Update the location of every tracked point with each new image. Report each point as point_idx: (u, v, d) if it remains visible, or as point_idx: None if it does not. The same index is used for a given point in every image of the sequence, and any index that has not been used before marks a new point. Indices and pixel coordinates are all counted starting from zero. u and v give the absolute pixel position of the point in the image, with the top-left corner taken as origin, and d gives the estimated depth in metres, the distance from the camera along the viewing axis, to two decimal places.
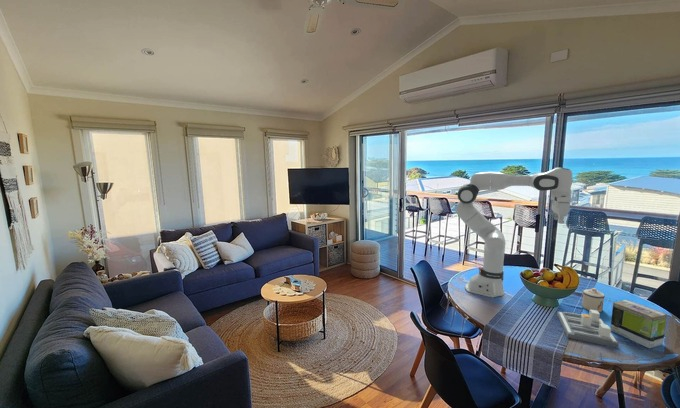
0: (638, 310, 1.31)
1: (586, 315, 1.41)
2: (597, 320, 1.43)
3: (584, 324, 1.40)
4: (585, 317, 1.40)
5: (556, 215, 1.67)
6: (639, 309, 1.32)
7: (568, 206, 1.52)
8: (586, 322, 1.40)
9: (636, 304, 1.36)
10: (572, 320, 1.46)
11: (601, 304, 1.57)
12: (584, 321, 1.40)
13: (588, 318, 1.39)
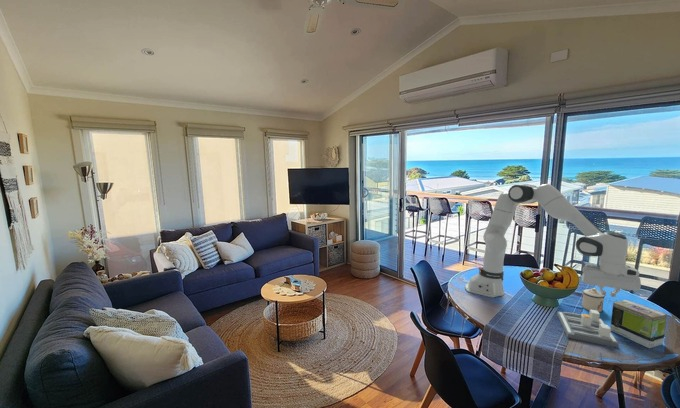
0: (638, 310, 1.31)
1: (586, 315, 1.41)
2: (597, 320, 1.43)
3: (584, 324, 1.40)
4: (585, 317, 1.40)
5: (602, 289, 1.37)
6: (639, 309, 1.32)
7: None
8: (586, 322, 1.40)
9: (636, 304, 1.36)
10: (572, 320, 1.46)
11: (601, 304, 1.57)
12: (584, 321, 1.40)
13: (588, 318, 1.39)
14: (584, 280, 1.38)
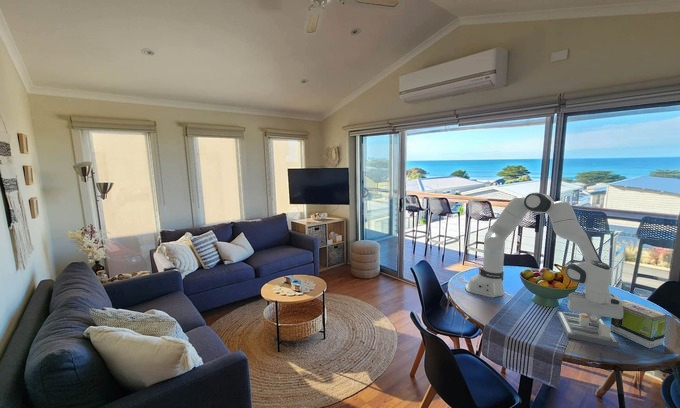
0: (638, 310, 1.31)
1: (584, 315, 1.41)
2: None
3: (582, 324, 1.41)
4: (583, 317, 1.40)
5: (590, 317, 1.40)
6: (639, 309, 1.32)
7: None
8: (584, 321, 1.40)
9: (636, 304, 1.36)
10: (572, 320, 1.46)
11: None
12: (582, 321, 1.40)
13: (586, 318, 1.40)
14: (570, 307, 1.42)
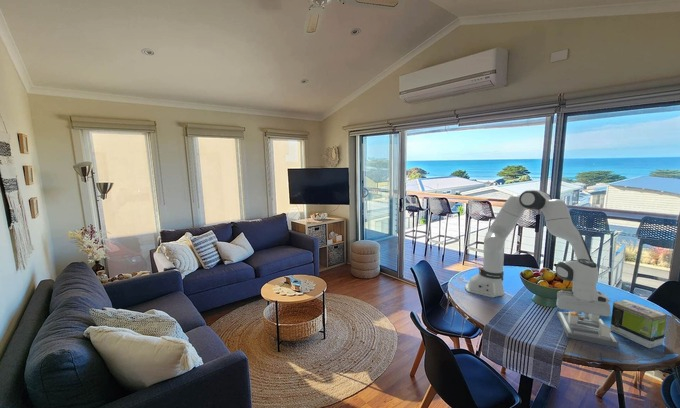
0: (638, 310, 1.31)
1: (573, 313, 1.43)
2: (597, 320, 1.43)
3: (571, 322, 1.42)
4: (572, 315, 1.42)
5: (578, 314, 1.42)
6: (639, 309, 1.32)
7: None
8: (573, 319, 1.42)
9: (636, 304, 1.36)
10: None
11: None
12: (571, 319, 1.42)
13: (575, 316, 1.42)
14: (558, 305, 1.44)
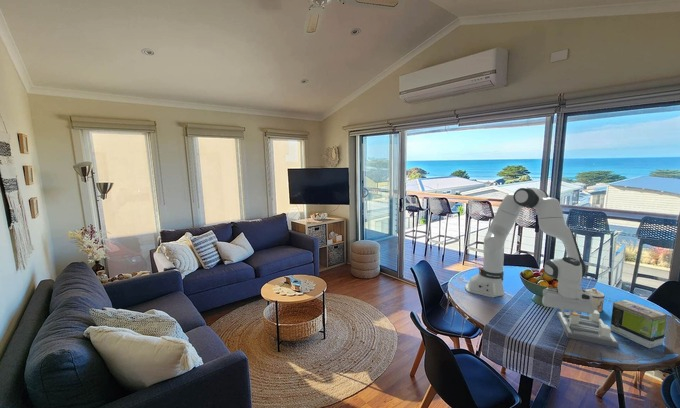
0: (638, 310, 1.31)
1: (574, 313, 1.43)
2: (597, 320, 1.43)
3: (572, 322, 1.42)
4: (573, 315, 1.42)
5: (563, 312, 1.45)
6: (639, 309, 1.32)
7: None
8: (574, 320, 1.42)
9: (636, 304, 1.36)
10: None
11: (601, 304, 1.57)
12: (572, 319, 1.42)
13: (576, 316, 1.41)
14: (544, 302, 1.46)
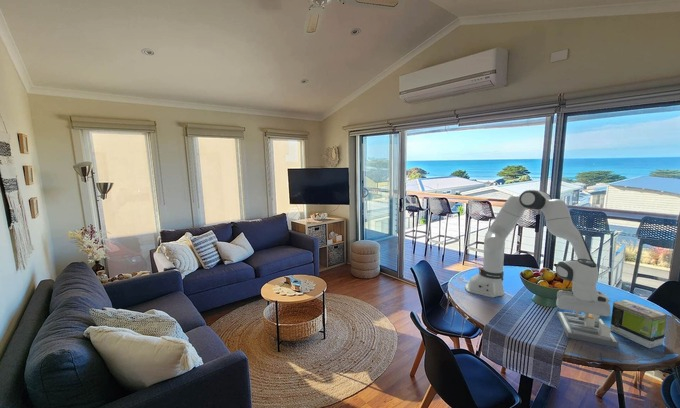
0: (638, 310, 1.31)
1: (590, 316, 1.40)
2: (597, 320, 1.43)
3: (588, 325, 1.40)
4: (589, 318, 1.39)
5: None
6: (639, 309, 1.32)
7: None
8: (589, 322, 1.39)
9: (636, 304, 1.36)
10: (572, 320, 1.46)
11: None
12: (588, 322, 1.39)
13: (592, 319, 1.39)
14: (558, 305, 1.44)
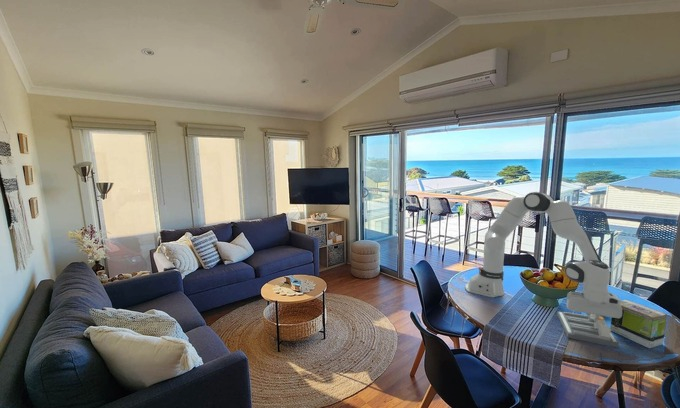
0: (638, 310, 1.31)
1: (600, 317, 1.39)
2: None
3: (598, 326, 1.38)
4: (599, 319, 1.38)
5: (589, 316, 1.40)
6: (639, 309, 1.32)
7: None
8: None
9: (636, 304, 1.36)
10: (572, 320, 1.46)
11: None
12: (598, 323, 1.38)
13: (602, 320, 1.37)
14: (568, 306, 1.42)
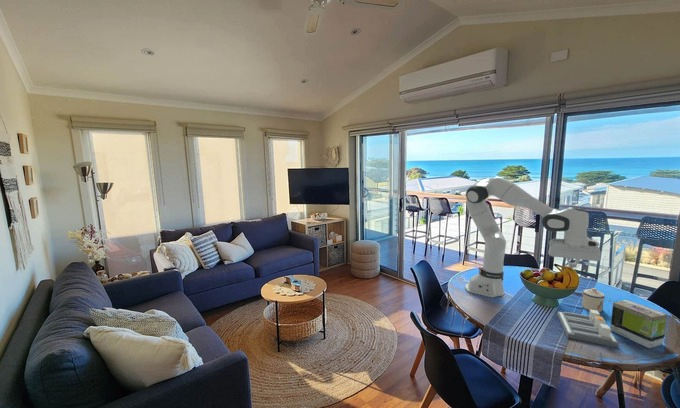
0: (638, 310, 1.31)
1: (599, 317, 1.39)
2: None
3: (597, 326, 1.38)
4: (599, 319, 1.38)
5: (569, 261, 1.46)
6: (639, 309, 1.32)
7: None
8: None
9: (636, 304, 1.36)
10: (572, 320, 1.46)
11: (601, 304, 1.57)
12: (597, 323, 1.38)
13: (602, 320, 1.37)
14: (550, 253, 1.47)
